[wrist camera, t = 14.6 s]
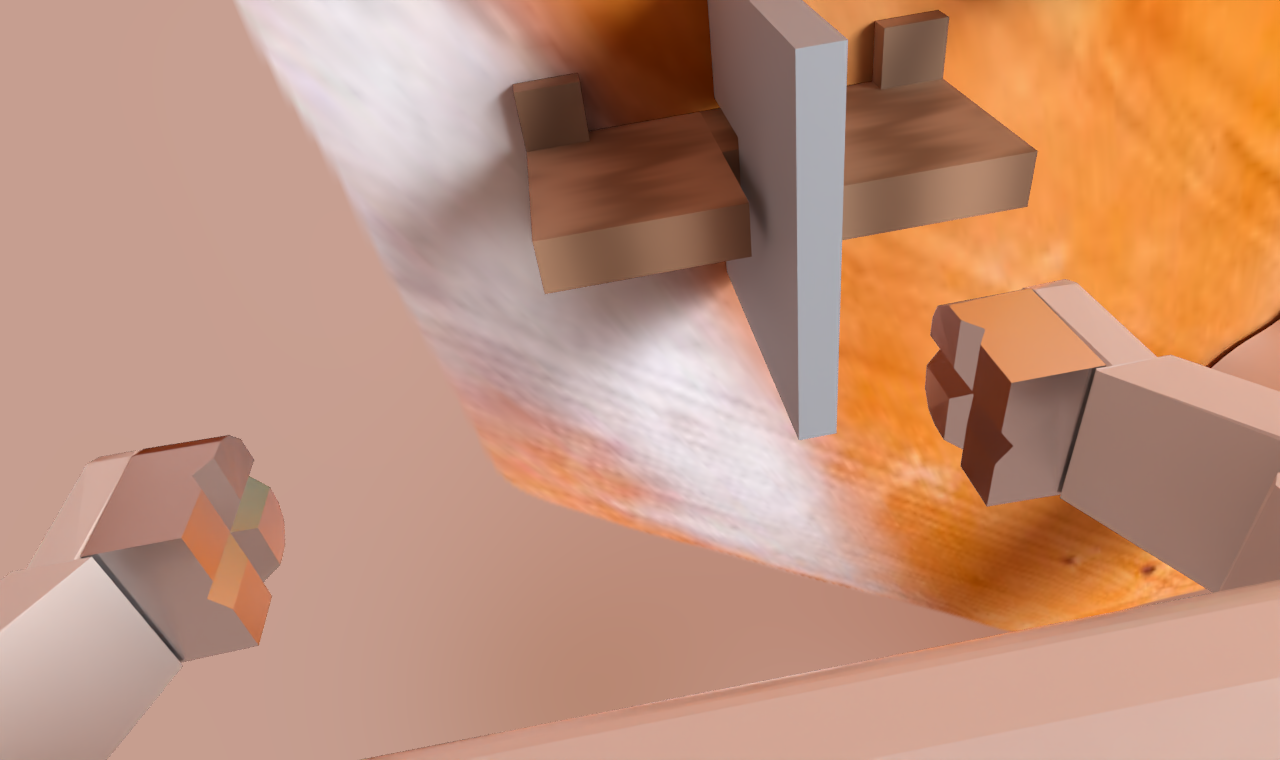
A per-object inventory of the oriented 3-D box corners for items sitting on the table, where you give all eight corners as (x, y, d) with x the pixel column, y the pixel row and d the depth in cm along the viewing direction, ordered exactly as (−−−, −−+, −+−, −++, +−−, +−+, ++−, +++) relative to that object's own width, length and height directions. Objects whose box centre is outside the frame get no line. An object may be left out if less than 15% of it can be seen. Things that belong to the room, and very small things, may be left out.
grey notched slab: (755, 266, 46) (836, 433, 35) (726, 271, 45) (799, 440, 35) (740, -53, 36) (847, 39, 25) (704, -47, 36) (795, 49, 25)
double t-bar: (937, 10, 38) (1050, 79, 31) (923, 170, 43) (1016, 265, 35) (513, 84, 38) (516, 174, 30) (547, 237, 43) (557, 349, 35)
